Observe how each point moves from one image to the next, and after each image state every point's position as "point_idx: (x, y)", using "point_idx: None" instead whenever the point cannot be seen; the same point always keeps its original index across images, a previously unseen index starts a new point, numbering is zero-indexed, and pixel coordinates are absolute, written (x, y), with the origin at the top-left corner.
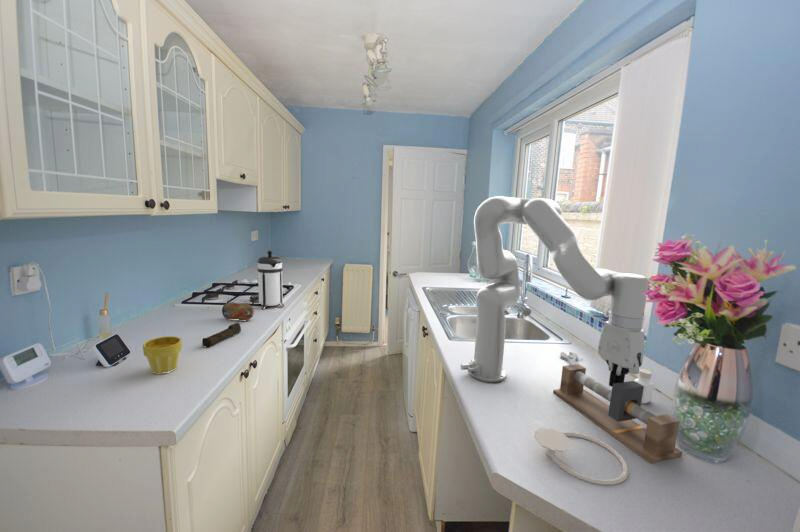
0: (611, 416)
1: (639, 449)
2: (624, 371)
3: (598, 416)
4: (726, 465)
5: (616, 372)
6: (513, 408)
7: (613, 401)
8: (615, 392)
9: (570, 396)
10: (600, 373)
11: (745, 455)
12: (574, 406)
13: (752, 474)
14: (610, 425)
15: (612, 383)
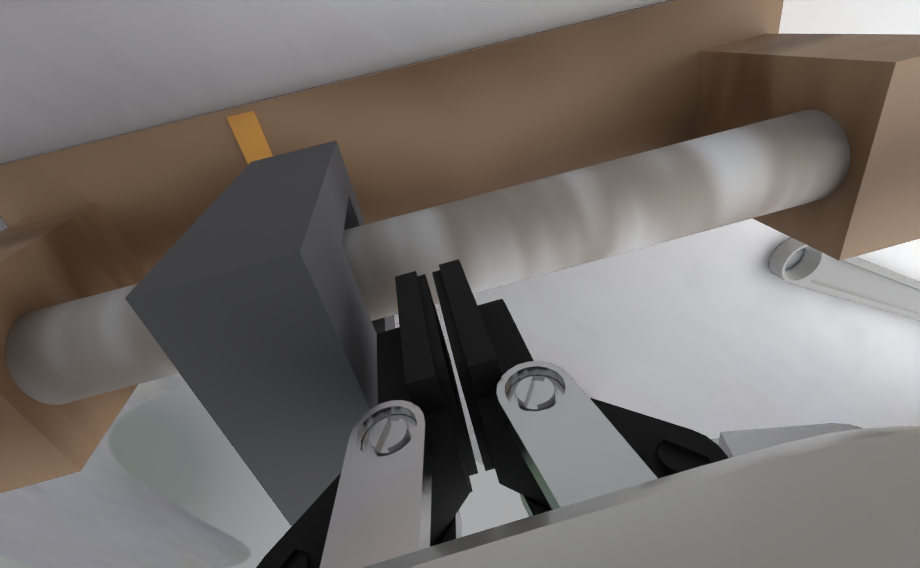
0: (308, 150)
1: (65, 167)
2: (312, 535)
3: (427, 122)
4: (122, 473)
5: (414, 418)
6: None
7: (288, 185)
8: (259, 226)
9: (674, 66)
10: (804, 384)
11: (217, 546)
12: (569, 26)
13: (89, 515)
14: (324, 141)
15: (426, 291)
